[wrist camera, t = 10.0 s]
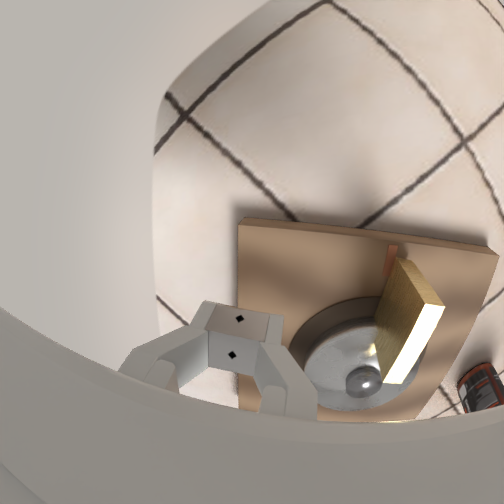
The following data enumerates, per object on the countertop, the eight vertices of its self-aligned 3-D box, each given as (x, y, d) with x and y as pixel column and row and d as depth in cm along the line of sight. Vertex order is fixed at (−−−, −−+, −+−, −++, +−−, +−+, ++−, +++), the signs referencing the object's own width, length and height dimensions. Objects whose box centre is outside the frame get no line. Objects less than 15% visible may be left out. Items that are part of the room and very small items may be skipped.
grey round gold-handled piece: (386, 398, 22) (393, 445, 17) (293, 389, 23) (286, 440, 18) (455, 270, 16) (493, 313, 11) (338, 245, 17) (349, 291, 12)
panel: (244, 217, 21) (237, 225, 19) (488, 247, 17) (500, 256, 15) (242, 398, 29) (238, 412, 27) (412, 407, 26) (414, 420, 24)
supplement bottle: (447, 390, 24) (468, 461, 13) (478, 357, 21) (510, 428, 11) (470, 394, 23) (491, 456, 13) (498, 364, 21) (528, 426, 11)
